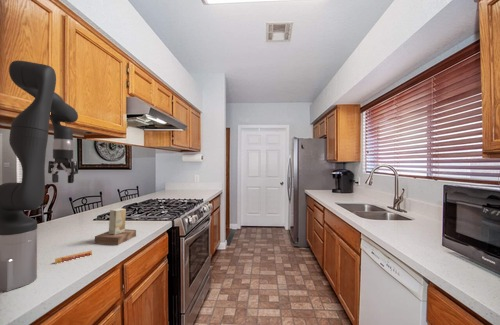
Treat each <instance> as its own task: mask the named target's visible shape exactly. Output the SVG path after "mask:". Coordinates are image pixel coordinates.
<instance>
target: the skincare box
mask: <svg viewBox="0 0 500 325" xmlns="http://www.w3.org/2000/svg"><path fill="white" fill-rule="evenodd" d="M126 212H127V209H126V208H122V207H119V208H115V209H110V210H109V222H108V223H109V224H108V231H109V234H113V235H116V234H119V233H122V232H125V229H126V217H127V216H126V214H127V213H126Z"/></svg>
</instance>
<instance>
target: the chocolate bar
mask: <svg viewBox="0 0 500 325" xmlns="http://www.w3.org/2000/svg"><path fill="white" fill-rule="evenodd" d="M90 255H91V256H93V250H87V251H83V252H79V253H74V254H71V255H66V256H60V257H57V258H54V264H55V265H58V264H61V262H62V263H65V262H64V261H66V262H69V261H68V260H70V261H73V260H72V259H74V260H77V259H76V258H79V259H81V258H80V257H83V258H86V257H85V256H87V257H90ZM57 263H58V264H57Z"/></svg>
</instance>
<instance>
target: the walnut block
mask: <svg viewBox="0 0 500 325" xmlns="http://www.w3.org/2000/svg"><path fill="white" fill-rule="evenodd" d="M135 237H137V229H126V228H125V232H122V233H119V234H116V235H113V234H109V230H107V231H106V232H102V233H100V234H97V235H96V236H94V244H99V245H110V246H111V245H112V246H114V245H115V246H119V245H121V244H124V243H126V242H127V241H129V240H132V239H133V238H135Z"/></svg>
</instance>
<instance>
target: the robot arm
mask: <svg viewBox="0 0 500 325" xmlns="http://www.w3.org/2000/svg"><path fill="white" fill-rule="evenodd" d="M8 73H9V77H10V79H11V81H12V82H13V84H14V85H16V86H17V87H19V89H21V90H22V91H24V92H25V93H27V94H29V95H30V96H31V97H33V98H34V99H33V101H32V102H31V103H30V104H29V105H28V106H27V107H26V108H24V110H22V111H20V113H18V114H17V115H16V117H15V118H13V119H12V122H11V124H10V129H9V130H10V132H9V136H8V137H9V140H8V141H9V145H10V148H11V149H12V151H13V153H14V155H15V156H16V158H17V160H19V163H20V165H21V171H22V173H21V174H22V175H21V182H6V183H5V182H4V183H1V184H0V291H2V292H9V291H11V290H14V289H19V288H21V287H22V288H23V287H24V286H27V285H30V284H31V283H33V282H35V281H36V280H37V278H38V220H37V219H35V218H32V217H29V216H28V215H27V214H25V212H26V211H27V212H28V211H34V210H37V209H38V208H40V207H41V206H42V204H43V202H44V200H45V193H46V184H45V183H46V180H45V178H46V175H45V171H46V169H45V168H46V154H47V145H48V139H49V129H50V123H51V125H52V130H53V141H52V159H54V160H49V161H48V167H47V173H48V174H50V175H51V181H52V183H59V174H60V172H62V171H64V172H65V173H66V174H67V184H73V183H74V182H75V175H76V174H79V163H78V160H75V161H73V160H74V137H73V136H74V135H73V134H74V130H73V129H72V128H71V127H67V126H63V125H62V124H61V123H67V124H68V123H76V122H77V121H78V119H79V114H78V111H77V110H76V109H75V108H74V107H72V106H71V105H70V104H68V103H66V102H65V100H64V99H63V98H62V97H61V96H60V94H58V93H56V92H55V90H56V86H57V85H56V84H57V74H56V70H55V69H54V68H53V67H52V66H50V65H48V64H47V65H46V64H43V63H38V62H32V61H26V60H13V61H11V63H10V64H9V67H8ZM50 112H51V115H50ZM24 211H25V212H24Z"/></svg>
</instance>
